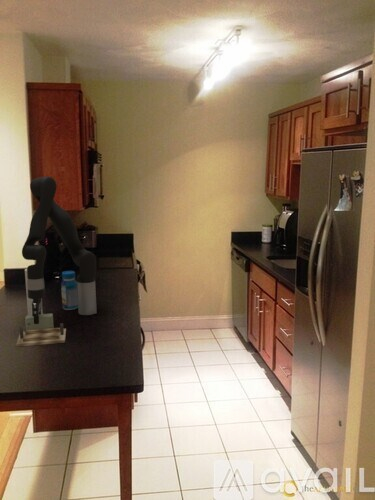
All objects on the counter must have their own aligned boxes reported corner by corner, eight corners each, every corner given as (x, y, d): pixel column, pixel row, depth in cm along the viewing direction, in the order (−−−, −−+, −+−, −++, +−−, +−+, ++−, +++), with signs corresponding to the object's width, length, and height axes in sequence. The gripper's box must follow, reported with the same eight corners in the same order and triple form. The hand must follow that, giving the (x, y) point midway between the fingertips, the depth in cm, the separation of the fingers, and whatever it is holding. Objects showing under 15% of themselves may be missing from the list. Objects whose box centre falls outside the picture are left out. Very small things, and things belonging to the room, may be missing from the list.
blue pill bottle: (74, 310, 233) (72, 274, 229) (59, 309, 235) (57, 273, 231) (80, 306, 241) (79, 270, 237) (66, 305, 243) (64, 270, 239)
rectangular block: (53, 327, 210) (52, 313, 209) (52, 331, 205) (52, 317, 203) (27, 329, 207) (26, 315, 206) (25, 333, 202) (24, 319, 201)
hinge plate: (66, 330, 205) (65, 318, 204) (64, 342, 192) (64, 329, 191) (20, 334, 201) (19, 321, 199) (16, 346, 187) (15, 333, 186)
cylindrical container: (27, 319, 220) (24, 271, 215) (28, 314, 227) (25, 267, 222) (42, 318, 222) (39, 270, 217) (43, 313, 229) (40, 267, 224)
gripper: (42, 291, 196) (44, 325, 199) (46, 283, 210) (47, 315, 213) (25, 291, 195) (27, 326, 198) (29, 283, 209) (31, 316, 212)
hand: (37, 320), depth 205 cm, fingers open, 8 cm apart
